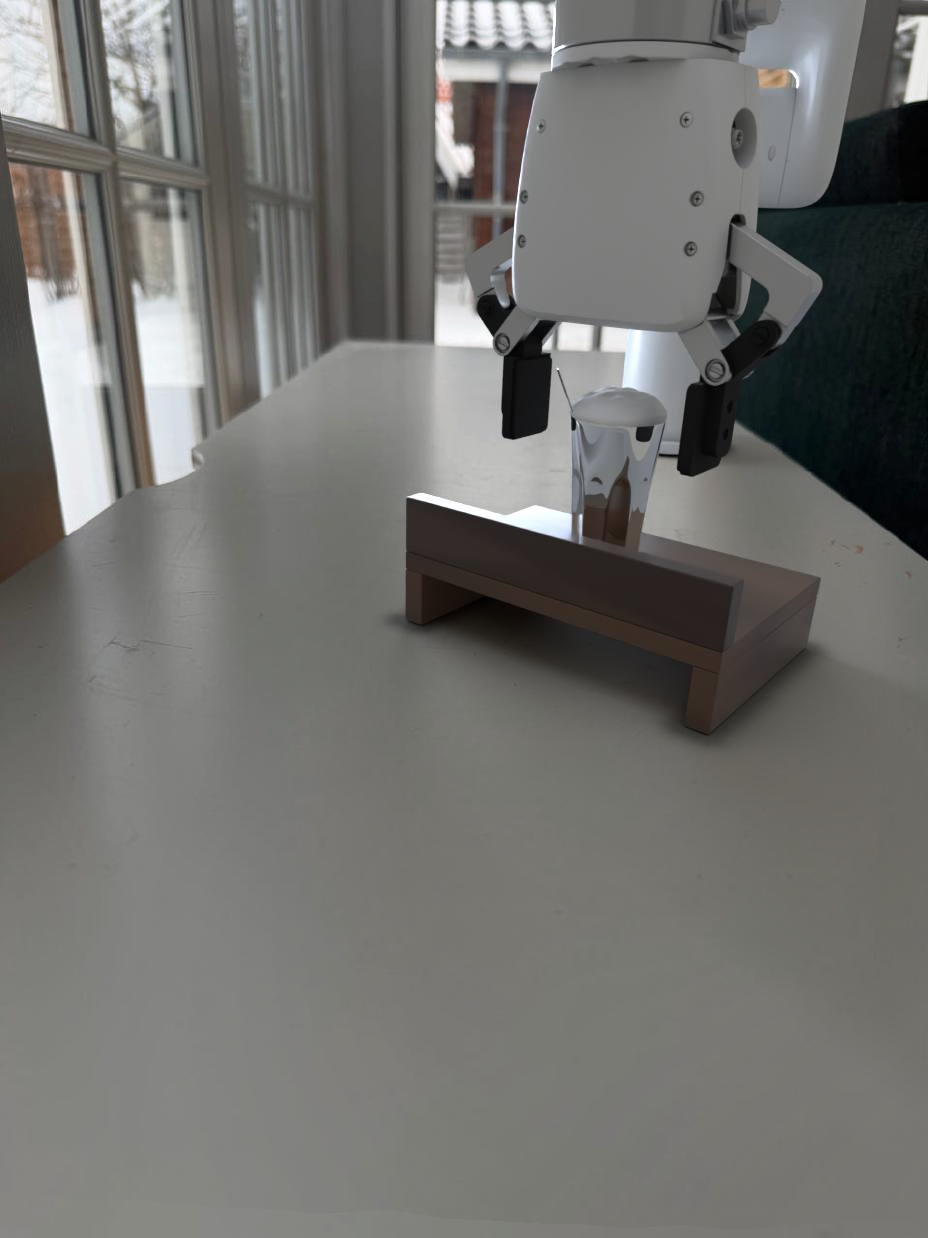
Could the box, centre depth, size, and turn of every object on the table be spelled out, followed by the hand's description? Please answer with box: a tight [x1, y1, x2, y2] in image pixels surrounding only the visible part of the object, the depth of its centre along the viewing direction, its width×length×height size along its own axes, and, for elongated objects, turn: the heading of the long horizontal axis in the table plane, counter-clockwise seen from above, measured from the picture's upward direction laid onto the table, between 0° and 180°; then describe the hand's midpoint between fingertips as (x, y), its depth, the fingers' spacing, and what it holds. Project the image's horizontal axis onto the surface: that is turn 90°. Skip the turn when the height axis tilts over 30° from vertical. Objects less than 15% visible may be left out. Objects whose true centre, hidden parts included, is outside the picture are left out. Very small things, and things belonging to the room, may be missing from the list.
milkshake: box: [556, 368, 667, 551], centre depth 43 cm, size 4×5×10 cm
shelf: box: [404, 492, 822, 735], centre depth 46 cm, size 12×18×7 cm, turn 51°
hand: (606, 451), depth 43 cm, fingers open, 9 cm apart
